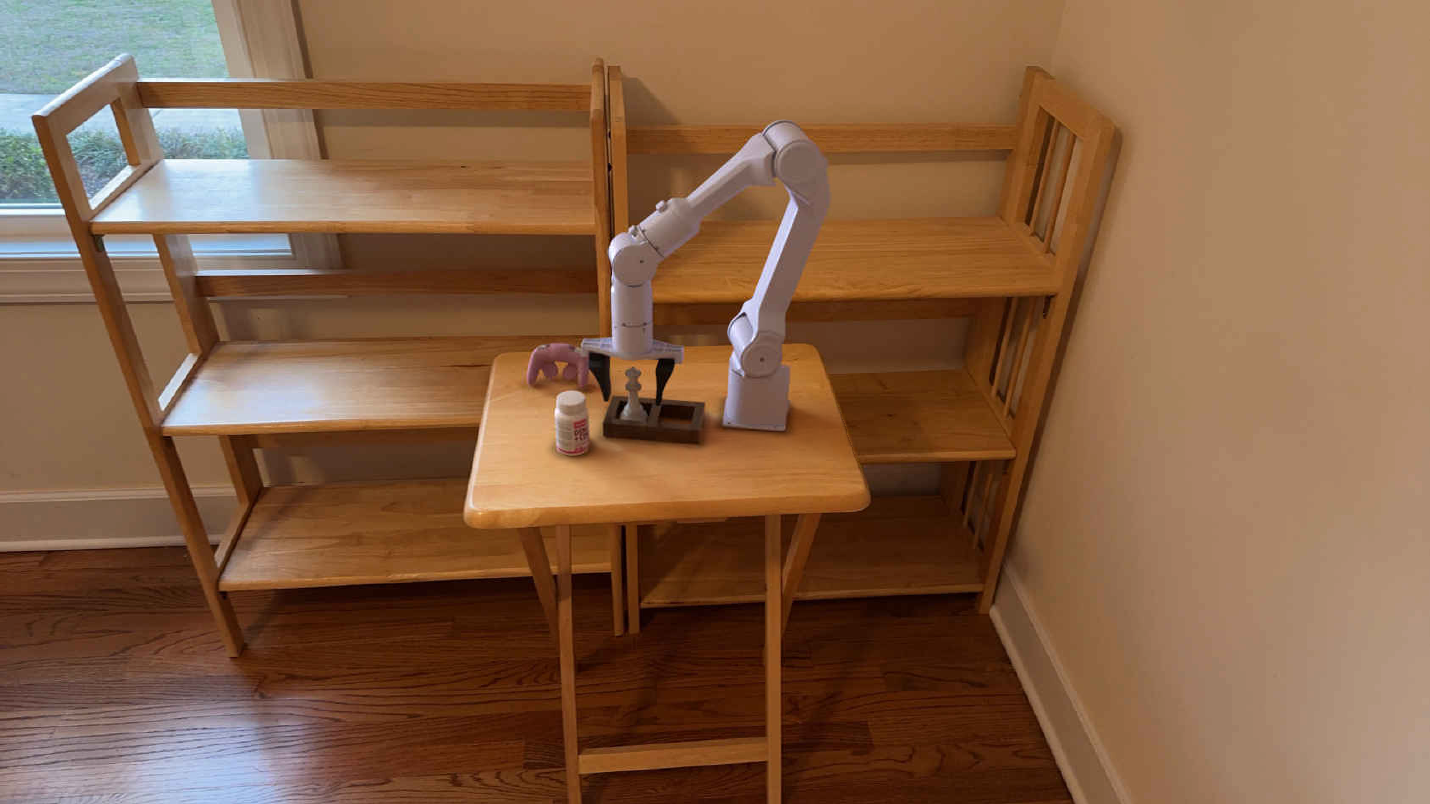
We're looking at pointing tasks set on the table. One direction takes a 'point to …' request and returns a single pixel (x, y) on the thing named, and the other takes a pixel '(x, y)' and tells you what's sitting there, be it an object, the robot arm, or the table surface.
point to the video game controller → (558, 352)
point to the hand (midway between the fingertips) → (633, 400)
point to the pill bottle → (571, 423)
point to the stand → (656, 421)
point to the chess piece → (633, 398)
